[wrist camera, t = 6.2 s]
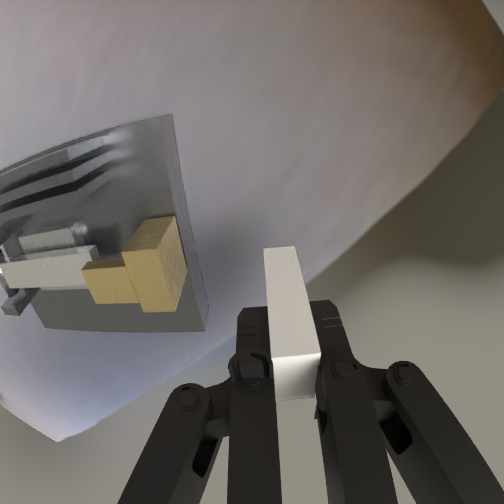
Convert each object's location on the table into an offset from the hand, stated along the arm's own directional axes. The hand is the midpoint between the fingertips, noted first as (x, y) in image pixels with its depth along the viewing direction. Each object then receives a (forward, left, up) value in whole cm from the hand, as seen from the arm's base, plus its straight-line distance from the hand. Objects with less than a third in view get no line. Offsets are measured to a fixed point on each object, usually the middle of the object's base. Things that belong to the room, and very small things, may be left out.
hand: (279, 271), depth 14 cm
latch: (-8, 0, -4) cm, 9 cm away
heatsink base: (-15, 0, -7) cm, 16 cm away
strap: (-17, 0, -3) cm, 17 cm away
